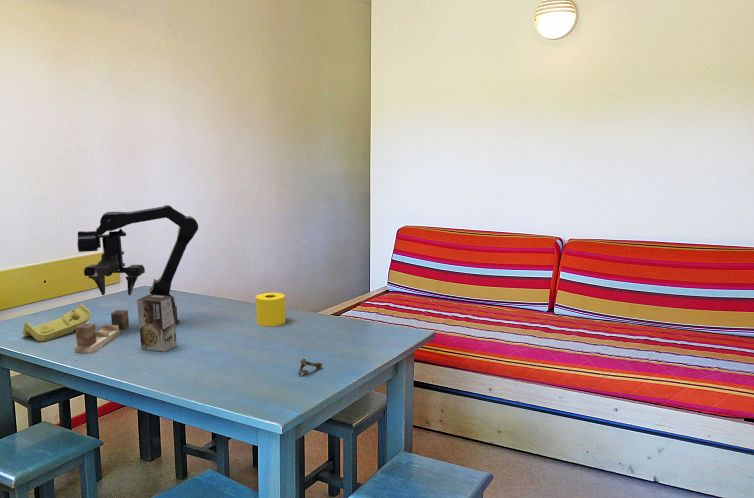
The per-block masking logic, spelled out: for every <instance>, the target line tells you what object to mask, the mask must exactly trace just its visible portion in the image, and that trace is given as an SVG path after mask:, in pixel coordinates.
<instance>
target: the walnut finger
mask: <svg viewBox="0 0 754 498" xmlns="http://www.w3.org/2000/svg"><path fill="white" fill-rule="evenodd" d="M110 318H111V319H110V320H111V325H119V330H124V331H126V330H127V329H128V327H129V328H130V323H129V310H128V309H127V310H125V309H121V310H119V309H117V310H114V311H112V312H110ZM125 329H126V330H125Z"/></svg>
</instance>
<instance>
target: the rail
mask: <svg viewBox="0 0 754 498" xmlns="http://www.w3.org/2000/svg"><path fill="white" fill-rule="evenodd" d="M74 330H75V340H76V345H74V346H73V349H74V353H79V354H80V353H82V354H87V353H88V354H94V353H95V352H98V350H100V349H101V348H103V347H105V346H106V345H108V344H109V343H110V342H112V341H114V340H115V339H116V338H118V337H119V336H121V335H120V331H119V325H112V324H100V325H99V330H98V331H96V323H84V324H81V325H79V326H77V327H75V329H74Z"/></svg>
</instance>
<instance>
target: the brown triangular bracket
mask: <svg viewBox="0 0 754 498" xmlns="http://www.w3.org/2000/svg"><path fill="white" fill-rule="evenodd" d="M299 363H300V367H299V369H298V374H297V375H298V376H302V374H305V375H307V374H309V372H310V371H309V370H307V369H304V368H305V367H306V366H311V367H315V369H317V370H322V368H323V363H322V362H320V361H318V362H311V361H309V360H306V358H302V359H300V360H299Z"/></svg>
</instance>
